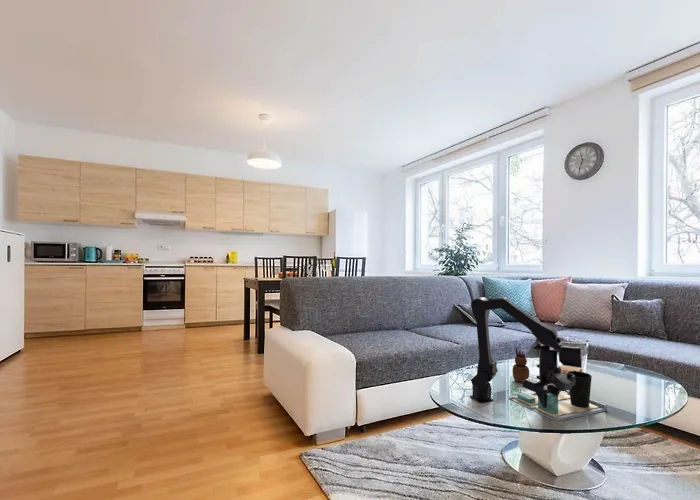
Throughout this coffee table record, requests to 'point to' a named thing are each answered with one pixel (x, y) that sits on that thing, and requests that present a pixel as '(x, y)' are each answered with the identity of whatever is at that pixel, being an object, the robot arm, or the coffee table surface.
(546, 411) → the teal block on board
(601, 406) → the lane board
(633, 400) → the coffee table surface
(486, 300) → the robot arm
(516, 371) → the wooden figurine
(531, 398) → the broken strip
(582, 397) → the cup
